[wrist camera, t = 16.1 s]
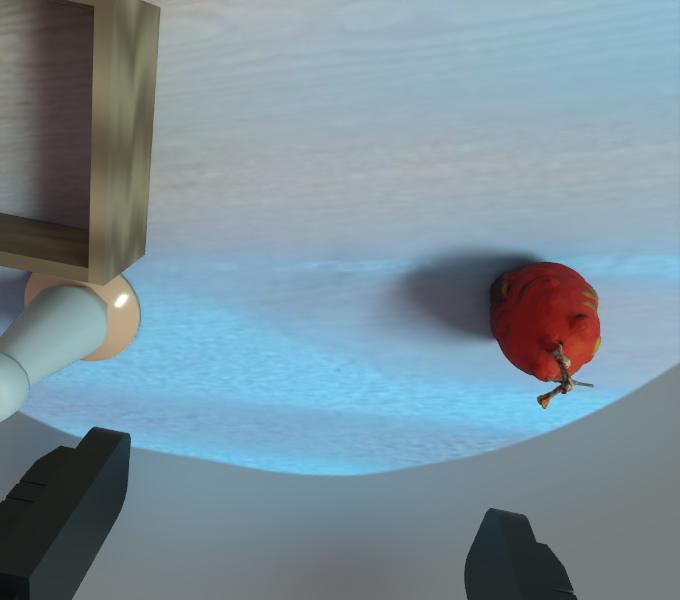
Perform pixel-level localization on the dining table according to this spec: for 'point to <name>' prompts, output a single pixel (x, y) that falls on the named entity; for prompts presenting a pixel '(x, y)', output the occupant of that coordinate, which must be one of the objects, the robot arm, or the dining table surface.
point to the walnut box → (104, 156)
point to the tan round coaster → (119, 313)
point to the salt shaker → (48, 340)
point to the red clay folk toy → (546, 323)
